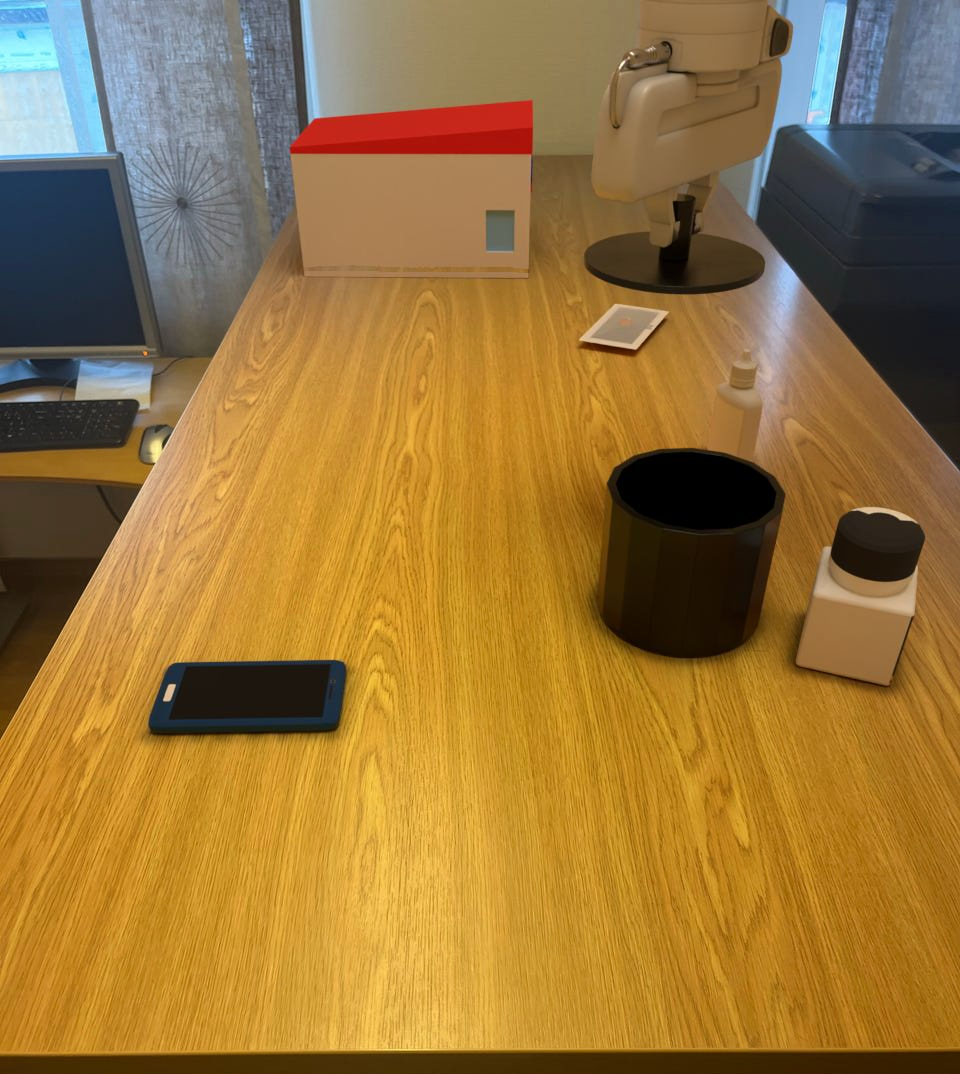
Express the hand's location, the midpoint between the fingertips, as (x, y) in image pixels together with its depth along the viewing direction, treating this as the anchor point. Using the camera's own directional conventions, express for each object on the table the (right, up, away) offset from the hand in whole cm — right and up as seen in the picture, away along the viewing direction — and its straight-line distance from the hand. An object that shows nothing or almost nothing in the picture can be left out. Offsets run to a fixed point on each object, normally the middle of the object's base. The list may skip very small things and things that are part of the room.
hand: (676, 238), depth 78 cm
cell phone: (-33, -37, -4) cm, 49 cm away
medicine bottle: (+14, -33, 0) cm, 36 cm away
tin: (+1, -29, +5) cm, 30 cm away
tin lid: (0, -2, +1) cm, 2 cm away
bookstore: (-25, +30, +81) cm, 90 cm away
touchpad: (+4, +9, +54) cm, 55 cm away
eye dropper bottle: (+11, -13, +25) cm, 31 cm away
